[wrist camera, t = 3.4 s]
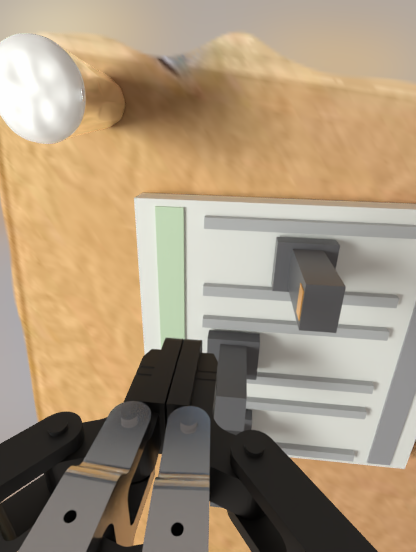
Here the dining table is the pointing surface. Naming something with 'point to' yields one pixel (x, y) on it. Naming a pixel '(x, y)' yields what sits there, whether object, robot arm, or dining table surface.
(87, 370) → the dining table surface
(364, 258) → the panel
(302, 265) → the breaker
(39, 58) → the milkshake
